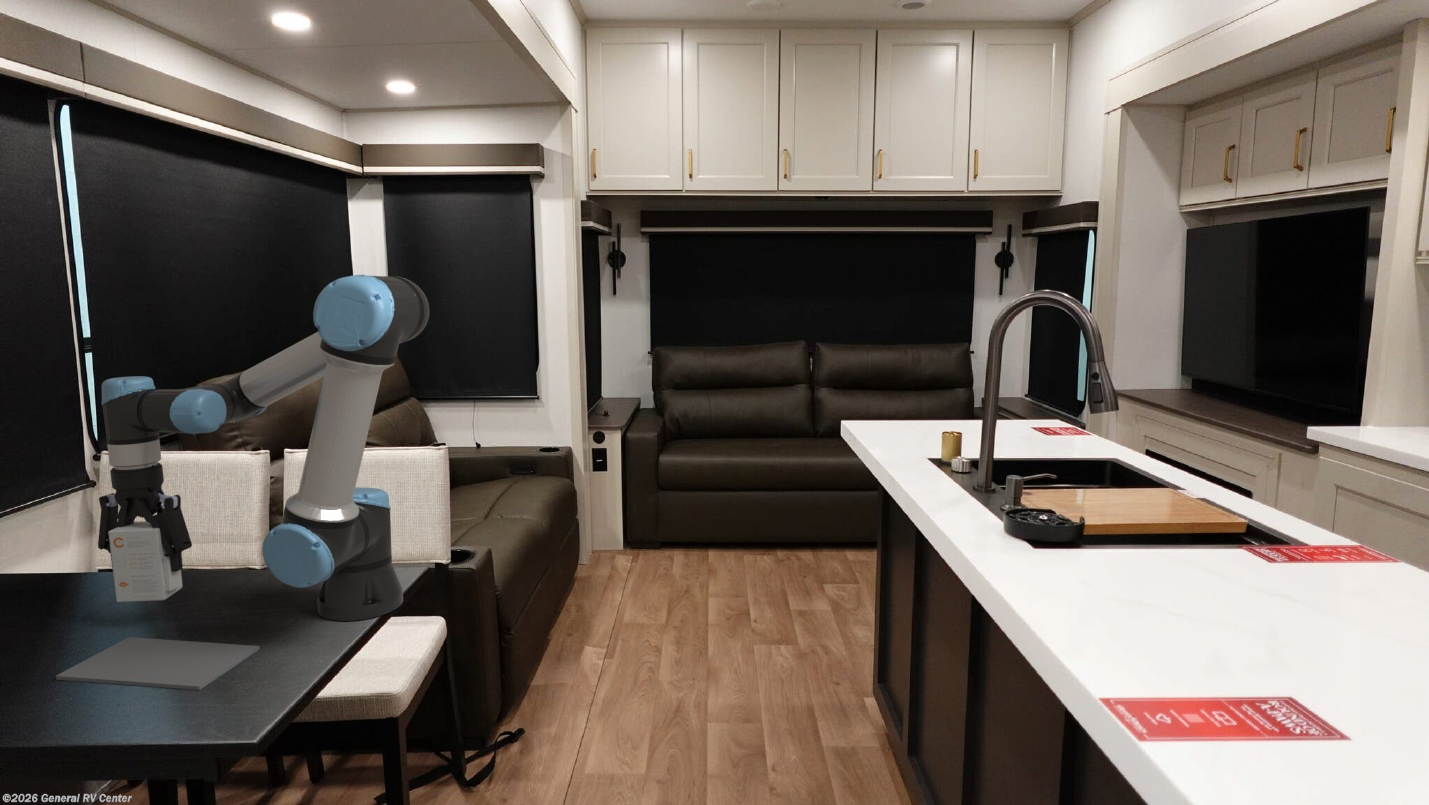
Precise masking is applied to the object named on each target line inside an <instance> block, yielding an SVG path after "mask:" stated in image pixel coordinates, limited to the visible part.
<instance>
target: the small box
mask: <svg viewBox="0 0 1429 805" xmlns="http://www.w3.org/2000/svg"><path fill="white" fill-rule="evenodd" d="M108 534H109V541H110V550H111V554H110V559H111V558H112V561H111V562H112V563H111V567H112V566H113V568H112V574H113V583H114V591H115V592H114V593H115V597H116V598H115V599H116V602H117V603H125V602H126V603H129V602H147V601H149V602H150V601H153V602H154V601H165V600H167V599H168V598H169V597H171V596H173V595H174V594H175V593H176V592H178V591H180V590H181V589H182V588H183V587H184V585H183V578H182V569H181V570H180V575H181V585H182V586H180V587H178V588H176V589H174V590H172V591H166V583H165V574H164V565H163V555H165V554H167V553H166V551H165V549H164V547H163V545H162V543H161V535H160V529H159V528H152V526H151V524H150V523H148V522H146V520H143V521H134V523H133V524H130V525H127V526H124V527H117V528H115V529H113V530H111V531H109V532H108ZM172 547H173V545H172Z"/></svg>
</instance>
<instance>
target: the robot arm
mask: <svg viewBox="0 0 1429 805" xmlns="http://www.w3.org/2000/svg"><path fill="white" fill-rule="evenodd" d="M312 312H313V313H312V315H313V323H314V327H316V328H317V330H318V331H317V332H314V333H313V334H311V335H309V336H307V337H305V338H303V339H302V340H300V341H298V342H296V343H295V344H293V345H291V346H289V347H287V348H285V349H283V350H282V351H279V352H278V353H276V354H274V355H273V356H270V357H268V358H266V359H265V360H263V361H261V362H259V363H257V364H256V365H254V366H252V367H250V368H248V369H246V370H244V371H243V372H241V373H239V374H238V375H237V374H236V375H235V376H234V377H232V378H231V377H230V379H227V380H226V381H222V382H216V383H211V384H205V385H199V386H194V387H187V388H181V389H180V388H178V389H176V388H175V389H172V388H171V389H157V388H156V385H155V384H154V379H153V378H152V377H149V376H145V375H144V376H142V375H141V376H121V377H120V376H119V377H112V378H108V379H106V380H104V381H103V382H102V383H101V407H102V412H103V419H104V426H105V433H106V435H105V436H106V444H107V452H108V466H111V467H112V468H111V469H110V471H109V473H110V481H111V488H113V490H115V493H114V492H112V493H108V494H105V495H102V496H100V497H98V501H99V502H98V503H99V507H100V520H99V530H98V540H97V541H98V542H97V548H98V550H100V551H101V550H104V551H105V550H106V551H107V552H108V554H110V555H111V550H110V541H109V534H108V532H109V531H111V530H113V529H115V528H117V527H124V526H127V525H130V524H133V523H134V522H135V520H136V519H137V517H138V518H142V519H144V521H146V522H148V523H150V524H151V526H152V528H159V529H160V535H161V543H162V545H163V547H164V549H165V551H166V553H167V554H165V555H163V565H164V574H165V583H166V591H172V590H174V589H176V588H178V587H180V586H182V585H183V584H182V585H181V576H182V574H181V575H180V570H181V571H182V570H183V567H184V566H183V564H184V563H183V555H182V552H183V551H186V550H188V549H190V548H192V546H193V544H192V541H191V537H190V533H189V530H188V527H187V524H186V521H185V518H184V513H183V510H182V508H181V506H182V505H181V504H182V503H181V502H182V501H181V500H182V497H181V496H180V494H175V495H167V494H165V492H164V491H163V489H162V487H163V483H164V482H165V479H164V478H165V477H164V468H163V464H162V463H161V462H160V461H161V460H162V454H161V453H162V451H161V443H160V442H161V441H160V433H173V434H176V433H177V434H189V435H197V434H205V433H206V434H207V433H208V434H210V433H214V432H215V431H217V430H218V429H219V428H220V427H221V426H222V425H224V424H227V423H228V424H229V423H233V422H237V421H241V420H249V419H251V418H253V417H256V416H258V415H260V414H262V413H263V412H265V411H266V410H267V409H268V406H269V405H271V404H274V403H275V402H277V401H279V400H282V399H284V398H285V397H287V396H289V395H291V394H293V393H295V392H297V391H298V390H300V389H302V388H304V387H307V386H308V385H310V384H312V383H314V382H316V381H318V380H320V379H321V378H323V380H322V383H321V390H320V393H319V397H318V403H317V406H316V412H315V415H314V421H313V425H312V429H311V434H310V438H309V442H308V447H307V452H306V456H305V461H304V465H303V469H302V475H301V479H300V482H299V487H298V492H297V493H295V494H293V495H291V496H288V498H287V499H286V502H285V506H284V510H283V514H282V517H281V518H282V519H281V523H280V524H278V525H276V526H274V527H273V528H271V530H270V531H269V532H268V533H267V534H266V536H265V537H264V540H263V542H262V548H261V550H262V551H261V552H262V558H263V561H264V563H265V566H266V567H267V568H268V569H269V570H270V571H271V574H272V575H273V576H274V577H275V579H277V580H278V581H279V582H281V583H283V584H285V585H287V586H291V587H294V588H309V587H312V586H315V585H318V584H320V583H322V584H321V587H320V590H319V594H318V596H317V613H318V614H319V616H321V618H324V619H327V620H332V621H341V622H351V621H353V622H355V621H361V620H363V621H364V620H368V619H373V618H377V617H381V616H383V615H387V614H389V613H391V612H393V611H395V610H396V609H398V608H399V607H400V606H401V605H402V604H403V602H404V591H403V587H402V584H401V582H400V579H399V577H398V575H397V572H396V569H395V567H394V565H393V559H392V558H393V556H392V525H391V523H392V522H391V521H392V520H391V511H392V509H391V508H392V507H391V505H390V498H389V494H388V492H387V491H385V490H384V489H382V488H381V489H380V488H374V487H361V486H360V487H357V486H356V485H357V482H358V478H359V474H360V468H361V464H362V460H363V456H364V452H365V447H366V444H367V439H368V436H369V430H370V426H371V422H372V418H373V414H374V410H375V407H376V406H375V405H376V401H377V396H378V392H379V389H380V383H381V381H382V380H381V379H382V375H383V372H384V371H385V370H387V369H389V368H390V367H393V366H394V365H395V362H396V359H397V358H396V357H397V353H398V349H399V344H402V343H403V344H404V343H405V342H408V341H411V340H413V339H415V338H416V337H417V336H419V335H420V334H421V333H422V332H423V330H424V329H425V328H426V326H427V324H428V321H429V318H430V305H429V301H428V298H427V295H425V292H424V291H423V290H422V289H421V287H420V286H418V285H417V284H416V283H415V282H413V281H412V280H410V279H408V278H405V277H403V276H402V277H401V276H394V275H386V276H385V275H382V276H381V275H365V274H354V275H350V276H349V275H348V276H344V277H340V278H337V279H335V280H333V281H332V282H329V283H328V284H327V285H326V286H325V287H324V288H323V289H322V290H321V292H319V294H318V296H317V298H316V299H315V303H314V307H313V311H312ZM172 545H173V547H172ZM110 562H111V564H112V558H111V557H110ZM111 568H112V569H113V566H112V565H111Z"/></svg>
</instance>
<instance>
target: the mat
mask: <svg viewBox="0 0 1429 805" xmlns="http://www.w3.org/2000/svg"><path fill="white" fill-rule="evenodd" d="M260 649H261V648H260V646H259V645H252V644H251V645H250V644H236V643H235V644H234V643H219V642H204V641H189V640H188V641H187V640H178V639H177V640H176V639H175V640H174V639H159V638H149V637H148V638H145V637H133V636H132V637H131V636H128V637H126V638H125V639H123V640H121V641H119V642H117V643H115V644H113V645H111V646H109V647H108V648H106V649H104V650H102V651H100V652H98V653H97V654H94V655H93V656H91V657H89V658H87V659H86V660H83V661H81V662H79V663H78V664H75V665H74V666H71V667H70V668H68V669H65V670H64V671H62V672H60V673H58V674H57V675H55V680H57V681H58V680H59V681H72V682H83V683H96V684H98V683H99V684H109V685H110V684H112V685H126V686H136V687H137V686H139V687H140V686H141V687H150V688H151V687H153V688H166V689H179V690H193V691H200V690H201V691H202V689H204V688H205V687H207V686H208V685H209V684H211V683H213V682H214V681H216V680H217V679H218V678H220V677H221V676H223V675H224V674H225V673H227V672H228V671H230V670H231V669H233V668H235V667H236V666H238V665H239V664H240V663H242V662H244V661H245V660H246V659H248V658H249V657H251V656H252V655H254V654H255V653H257V652H259V650H260Z"/></svg>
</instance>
